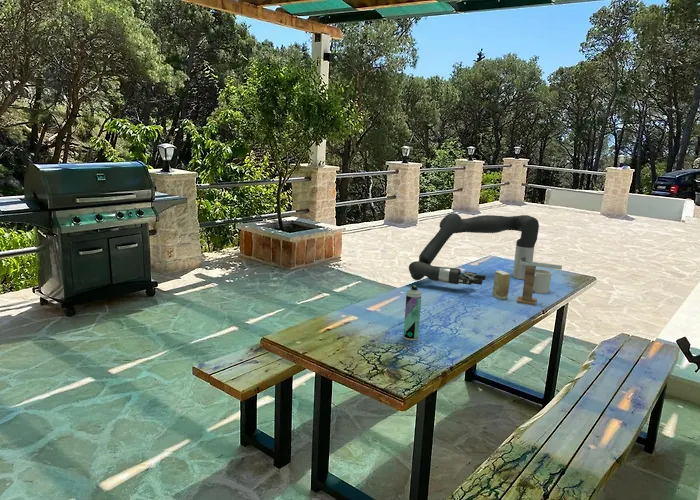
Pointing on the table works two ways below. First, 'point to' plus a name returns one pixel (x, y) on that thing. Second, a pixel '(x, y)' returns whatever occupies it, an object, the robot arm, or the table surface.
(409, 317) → the spray can
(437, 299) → the table surface
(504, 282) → the skincare box
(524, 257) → the latch bar
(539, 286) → the mug
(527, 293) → the post
